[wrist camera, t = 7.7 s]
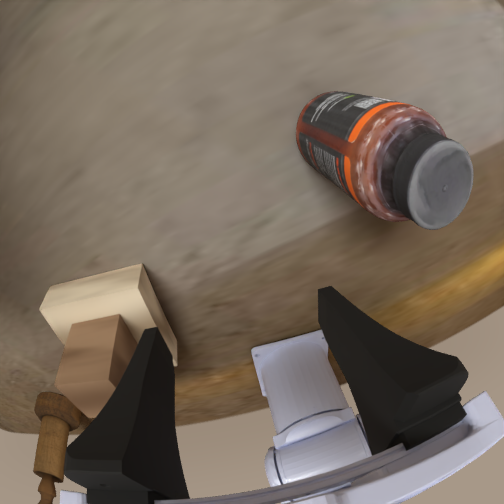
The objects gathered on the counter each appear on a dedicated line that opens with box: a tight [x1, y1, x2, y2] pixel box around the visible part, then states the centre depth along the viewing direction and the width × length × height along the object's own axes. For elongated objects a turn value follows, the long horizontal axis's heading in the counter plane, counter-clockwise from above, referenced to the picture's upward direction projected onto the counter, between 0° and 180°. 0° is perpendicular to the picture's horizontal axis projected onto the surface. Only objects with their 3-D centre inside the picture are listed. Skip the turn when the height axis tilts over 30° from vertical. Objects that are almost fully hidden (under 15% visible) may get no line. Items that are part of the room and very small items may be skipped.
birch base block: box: [39, 264, 178, 366], centre depth 24 cm, size 9×9×3 cm
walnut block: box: [54, 314, 138, 418], centre depth 20 cm, size 4×4×6 cm
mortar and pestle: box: [33, 392, 82, 504], centre depth 24 cm, size 7×6×18 cm
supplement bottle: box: [296, 91, 473, 230], centre depth 15 cm, size 6×6×11 cm
